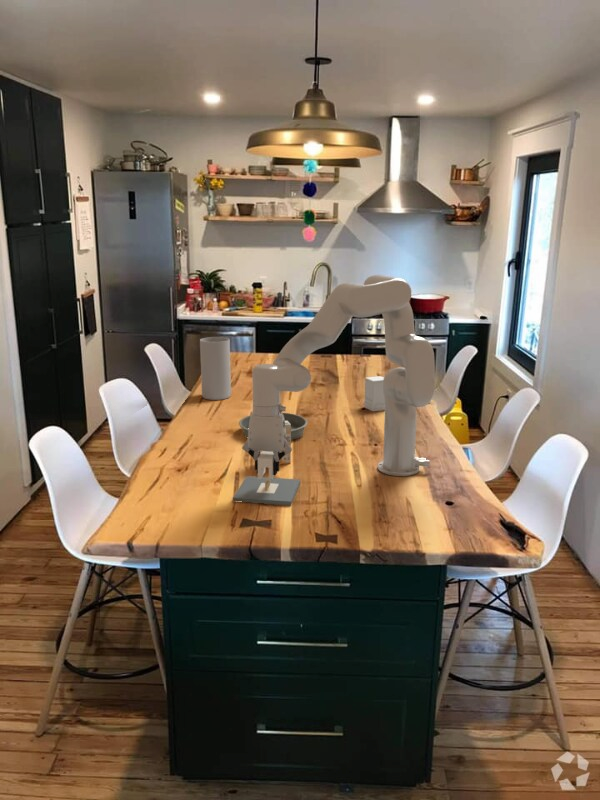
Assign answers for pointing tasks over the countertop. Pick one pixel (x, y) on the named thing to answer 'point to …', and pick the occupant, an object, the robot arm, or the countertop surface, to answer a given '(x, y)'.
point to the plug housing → (265, 464)
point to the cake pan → (294, 420)
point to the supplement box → (287, 458)
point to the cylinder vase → (215, 368)
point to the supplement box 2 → (374, 393)
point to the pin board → (267, 490)
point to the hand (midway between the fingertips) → (267, 472)
